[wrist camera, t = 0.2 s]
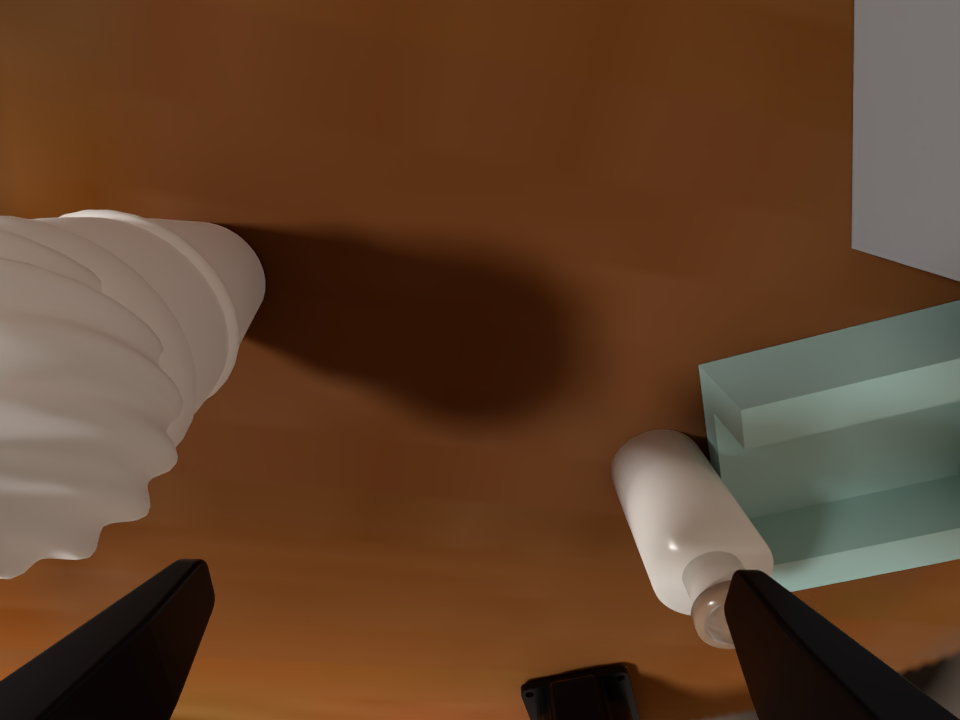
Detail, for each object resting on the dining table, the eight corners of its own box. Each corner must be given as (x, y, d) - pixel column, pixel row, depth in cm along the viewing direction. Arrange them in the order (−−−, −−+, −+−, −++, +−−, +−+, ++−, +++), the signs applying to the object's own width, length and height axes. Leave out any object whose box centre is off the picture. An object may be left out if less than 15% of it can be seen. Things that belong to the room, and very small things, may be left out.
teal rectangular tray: (964, 482, 25) (1046, 541, 21) (719, 533, 26) (757, 598, 23) (987, 293, 21) (1093, 326, 17) (698, 364, 22) (741, 410, 19)
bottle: (706, 492, 25) (807, 651, 18) (618, 512, 26) (679, 675, 18) (697, 419, 24) (804, 559, 16) (603, 441, 24) (662, 588, 16)
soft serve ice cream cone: (109, 135, 19) (-1237, 143, 4) (334, 204, 20) (-88, 410, 5) (107, 338, 22) (-640, 750, 7) (300, 388, 23) (-15, 839, 8)
